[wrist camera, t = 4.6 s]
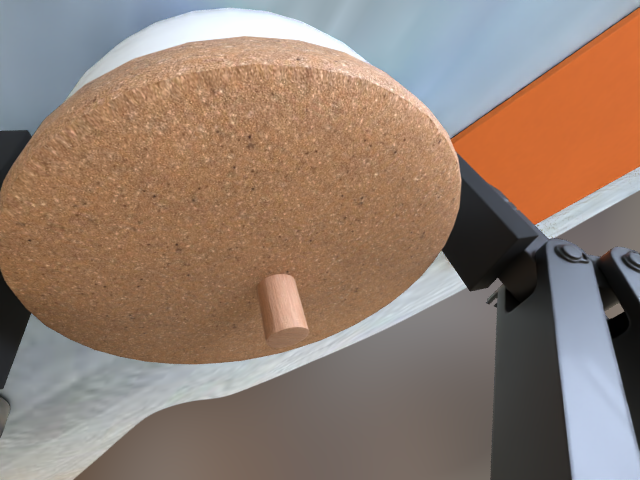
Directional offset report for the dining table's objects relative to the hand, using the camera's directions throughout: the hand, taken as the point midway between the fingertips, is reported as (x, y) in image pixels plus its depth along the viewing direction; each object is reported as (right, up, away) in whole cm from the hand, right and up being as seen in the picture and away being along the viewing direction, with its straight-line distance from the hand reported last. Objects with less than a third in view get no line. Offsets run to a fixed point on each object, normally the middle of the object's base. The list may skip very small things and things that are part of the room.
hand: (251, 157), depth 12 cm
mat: (+19, +3, +8) cm, 21 cm away
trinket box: (-1, +2, +1) cm, 2 cm away
